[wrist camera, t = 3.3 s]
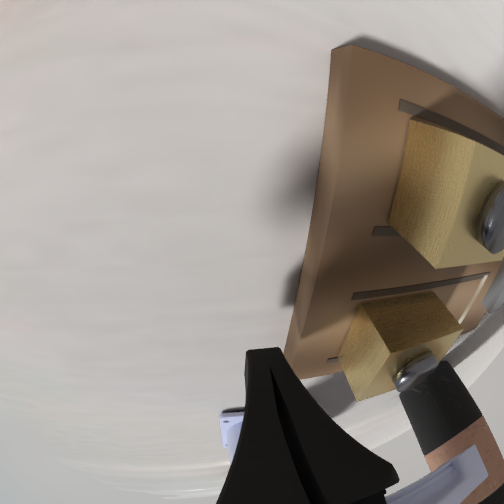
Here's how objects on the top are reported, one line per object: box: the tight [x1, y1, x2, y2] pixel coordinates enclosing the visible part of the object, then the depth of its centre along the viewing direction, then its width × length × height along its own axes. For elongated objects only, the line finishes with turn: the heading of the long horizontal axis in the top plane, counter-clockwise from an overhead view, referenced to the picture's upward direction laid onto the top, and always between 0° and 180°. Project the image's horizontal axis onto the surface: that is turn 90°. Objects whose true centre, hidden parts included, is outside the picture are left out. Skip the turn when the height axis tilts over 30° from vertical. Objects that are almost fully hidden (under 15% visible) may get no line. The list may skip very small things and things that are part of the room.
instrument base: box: [283, 45, 504, 380], centre depth 11 cm, size 16×18×4 cm
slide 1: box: [388, 120, 504, 269], centre depth 7 cm, size 4×5×4 cm
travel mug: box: [399, 361, 504, 504], centre depth 16 cm, size 8×8×20 cm
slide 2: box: [337, 291, 463, 401], centre depth 12 cm, size 4×5×4 cm
